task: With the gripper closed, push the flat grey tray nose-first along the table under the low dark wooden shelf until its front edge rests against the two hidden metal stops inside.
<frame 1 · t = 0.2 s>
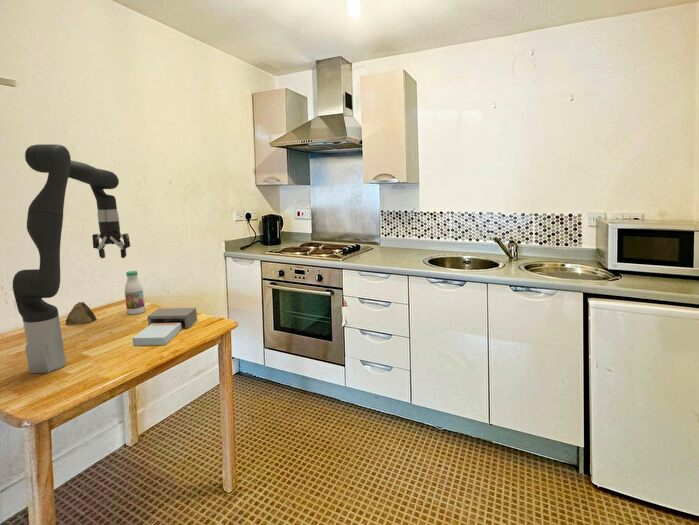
hand: (113, 257, 169), 29 cm above the table, tool pointing down, fingers open, 8 cm apart
milk bottle: (136, 312, 188), on the table
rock: (80, 322, 175), on the table
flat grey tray: (158, 337, 156), on the table
low shelf: (173, 324, 170), on the table
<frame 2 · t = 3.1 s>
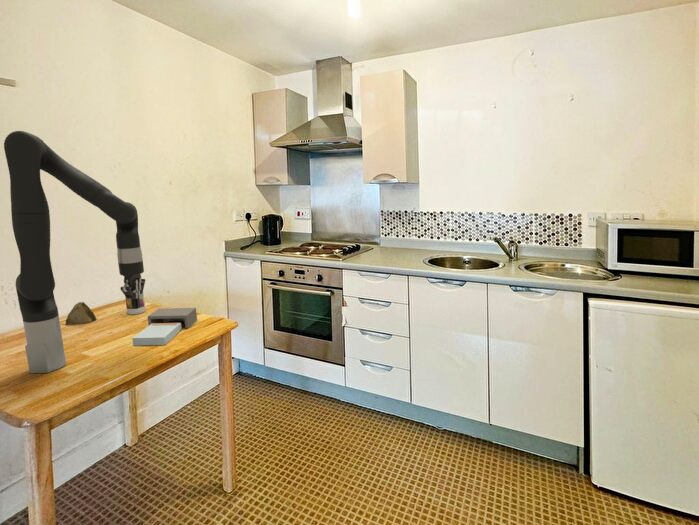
hand: (136, 308, 139), 17 cm above the table, tool pointing down, fingers closed
nothing on the table moved.
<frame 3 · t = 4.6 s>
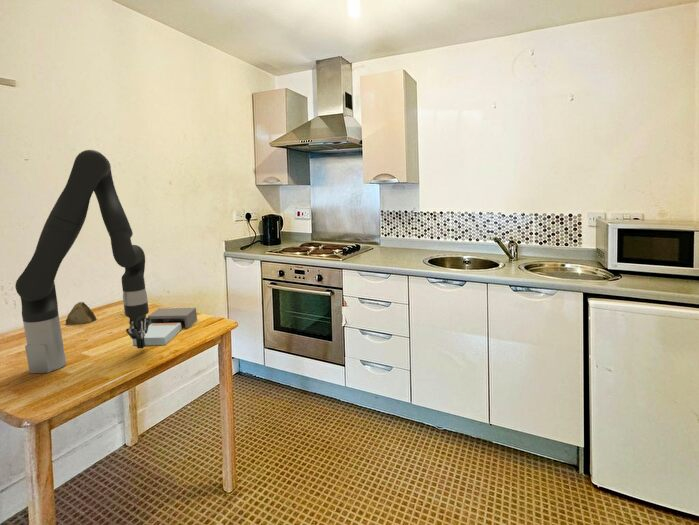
hand: (141, 347, 142), 2 cm above the table, tool pointing down, fingers closed
nothing on the table moved.
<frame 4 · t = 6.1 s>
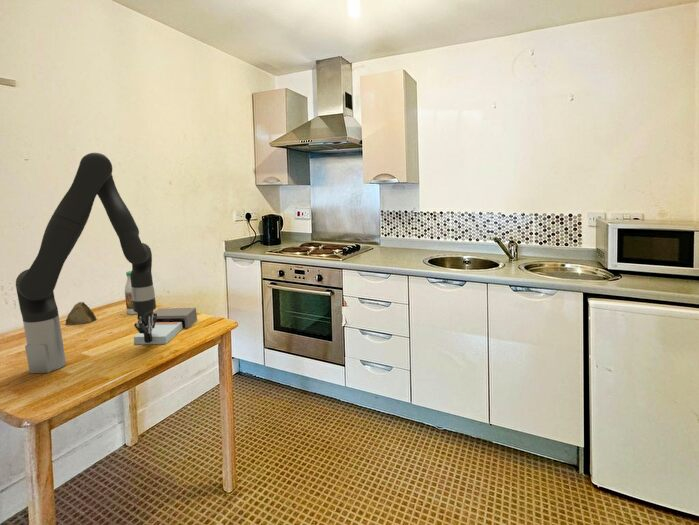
hand: (148, 341, 148), 2 cm above the table, tool pointing down, fingers closed
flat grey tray: (159, 336, 157), on the table, touching gripper
everything else where it was.
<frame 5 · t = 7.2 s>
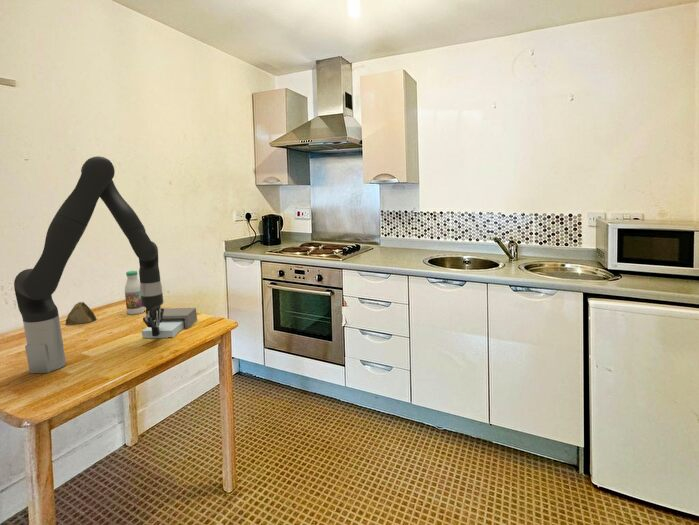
hand: (156, 335, 154), 2 cm above the table, tool pointing down, fingers closed
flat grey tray: (166, 330, 163), on the table, touching gripper
everything else where it was.
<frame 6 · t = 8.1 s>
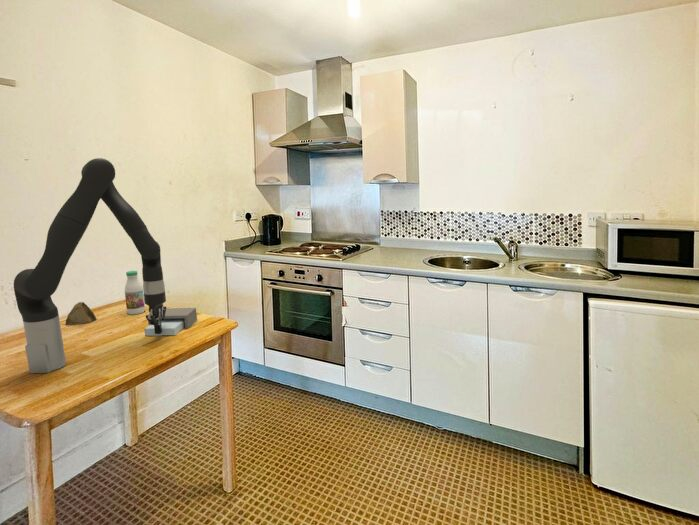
hand: (158, 333, 156), 2 cm above the table, tool pointing down, fingers closed
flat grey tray: (169, 328, 166), on the table, touching gripper, low shelf
everything else where it was.
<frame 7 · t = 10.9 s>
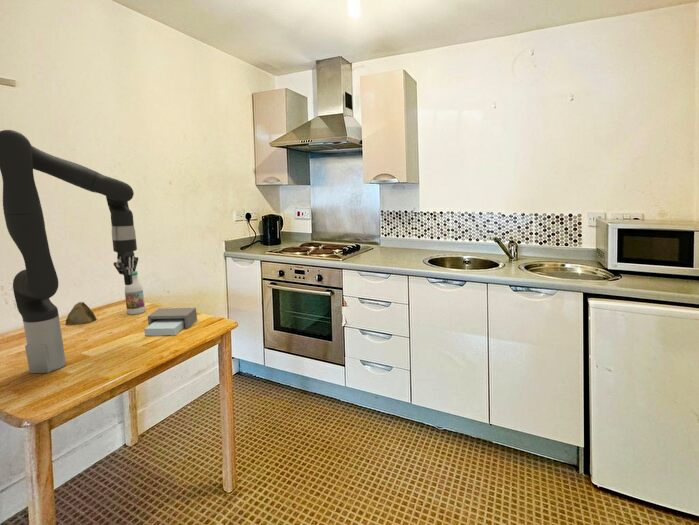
hand: (128, 284, 146), 23 cm above the table, tool pointing down, fingers closed
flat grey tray: (169, 328, 166), on the table
everything else where it was.
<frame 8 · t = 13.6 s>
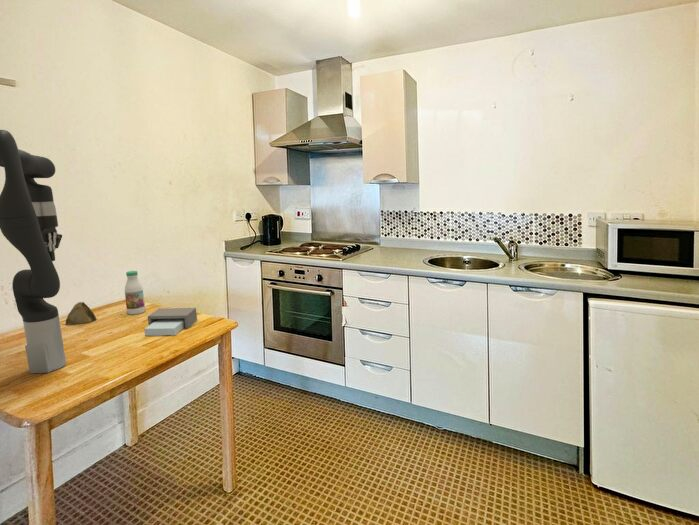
hand: (51, 261, 146), 32 cm above the table, tool pointing down, fingers closed
nothing on the table moved.
at the end: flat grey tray 0.2 cm from the target spot, on the table; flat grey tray tilted 0°; the gripper is holding nothing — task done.
